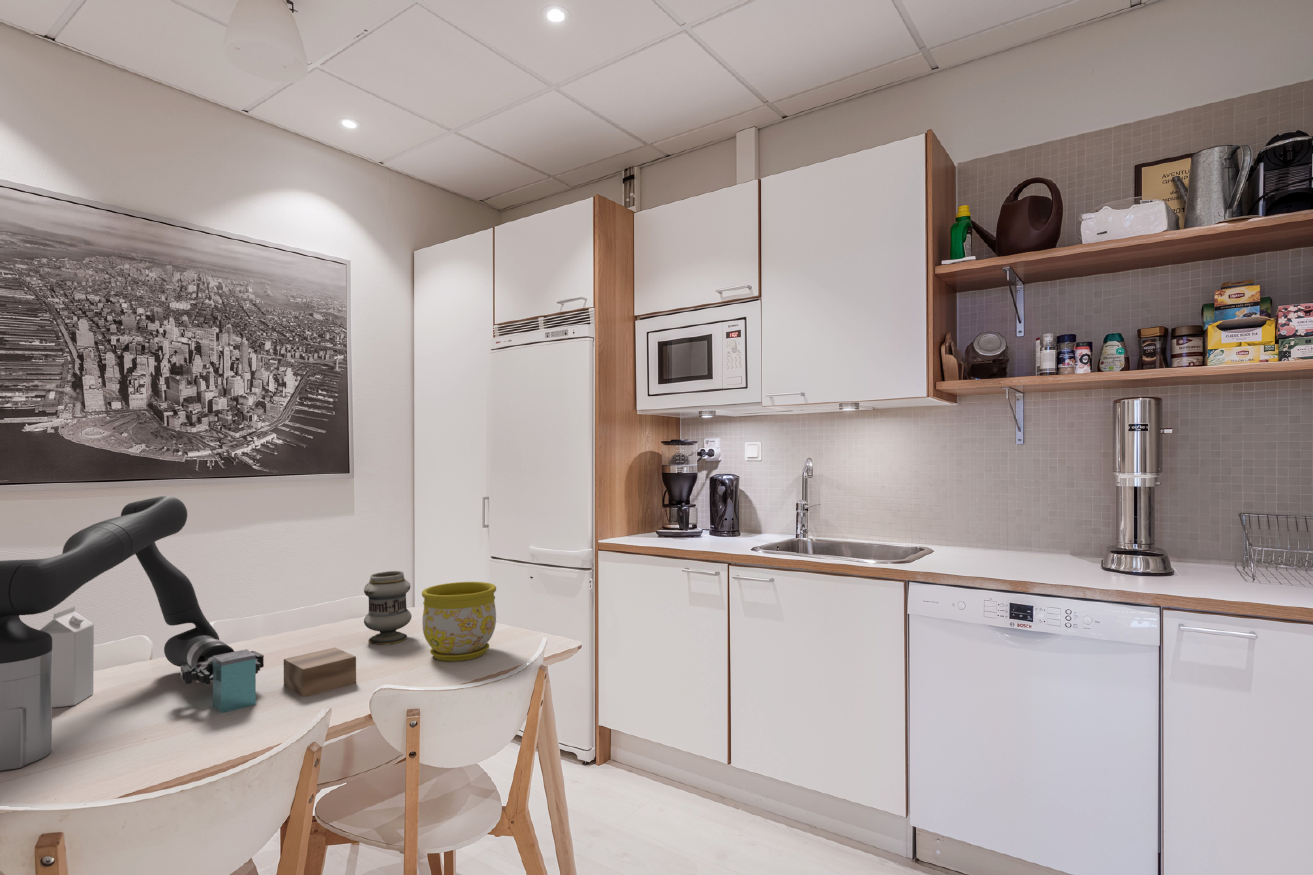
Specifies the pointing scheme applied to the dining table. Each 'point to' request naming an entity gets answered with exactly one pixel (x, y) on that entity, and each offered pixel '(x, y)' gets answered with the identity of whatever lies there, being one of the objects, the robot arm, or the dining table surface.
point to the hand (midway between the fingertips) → (232, 673)
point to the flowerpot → (459, 619)
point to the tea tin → (234, 680)
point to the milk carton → (71, 657)
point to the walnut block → (319, 671)
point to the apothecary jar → (387, 606)
